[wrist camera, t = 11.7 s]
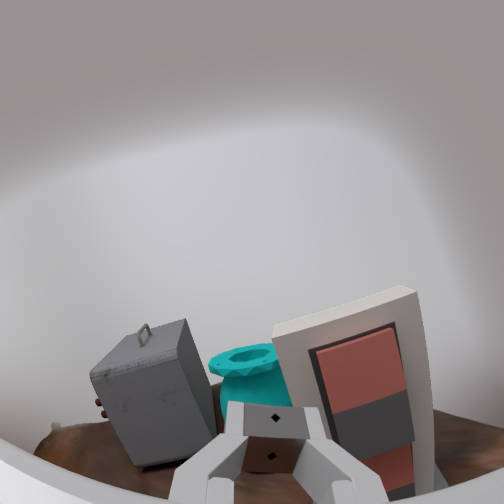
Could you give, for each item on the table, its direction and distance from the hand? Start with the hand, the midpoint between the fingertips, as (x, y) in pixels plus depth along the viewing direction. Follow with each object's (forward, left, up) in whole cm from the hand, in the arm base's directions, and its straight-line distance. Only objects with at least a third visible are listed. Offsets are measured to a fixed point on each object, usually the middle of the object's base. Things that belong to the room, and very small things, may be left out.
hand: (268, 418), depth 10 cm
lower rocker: (+5, -11, -25) cm, 28 cm away
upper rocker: (+5, -11, -13) cm, 18 cm away
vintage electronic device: (+57, -10, -28) cm, 64 cm away
